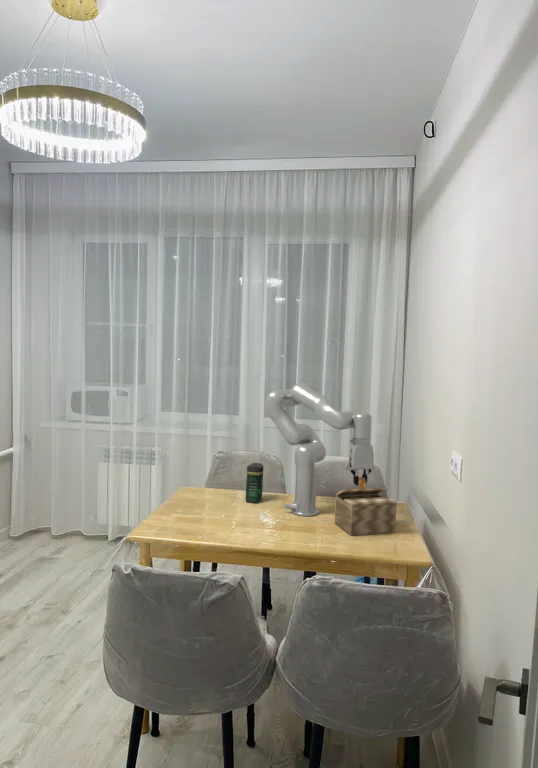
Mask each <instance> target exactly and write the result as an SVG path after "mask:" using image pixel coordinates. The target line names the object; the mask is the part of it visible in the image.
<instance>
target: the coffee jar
mask: <svg viewBox="0 0 538 768" xmlns="http://www.w3.org/2000/svg"><path fill="white" fill-rule="evenodd" d="M245 483H246V484H245V485H246V486H245V502H246V501H247V502H246V503H250V502H252V503H251V504H258V502H259V503H261V502H262V500H263V488H264V465H263V464H262V463H261V462H252V463H250V464H248V465H247V466H246V482H245Z"/></svg>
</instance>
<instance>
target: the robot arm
mask: <svg viewBox="0 0 538 768" xmlns="http://www.w3.org/2000/svg"><path fill="white" fill-rule="evenodd" d="M327 401H328V400H327V397H326V396H325V395H323V394H322V393H320V392H318V389H317V387H316V386H315V385H314V384H312V383H310V382H309V383H308V382H300V383H296V384H295V385H293V386H292V387H291V388H289V389H276V390H273V391H271V392H269V393H268V394H267V396H266V399H265V402H264V405H265V407H264V408H265V411H266V413H267V415H268V416H269V418H270V420H271V421H272V422H273V424H274V425H275V427H276V428H277V430H278V431H279V432H280V434H281V435H282V437H283V438H284V440H285V441H286V443H287V444H288V445H290V446H292V447H293V446H298V447H297V448H296V449H295V452H294V463H295V486H294V487H295V488H294V495H295V496H294V501H292V503H290V504H289V503H288V504H287V503H286V504H284V509H289V510H290V512H291V514H293V515H296V516H302V517H312V516H317V515H319V511H320V510H319V509H317V508H316V503H317V502H316V501H317V473H318V472H317V468H316V463H320V462H322V461H323V460H324V459H326V454H327V451H326V448H325V445H324V443H323V442H322V441H321V440H320V438H319V436H318V435H317V434H316V433H315V431H314V429H313V428H312V427H311V426H309V425H308V424H305V423H297V422H296V421H295V419H294V418H293V416H292V415H291V414H290V412H288V411H287V410H285V409H286V408H290V407H295V406H298V405H303V406H304V407H306V408H307V409H309V410H311V411H313V412H314V413H315V415H316V416H317V417H318V418H319V419H320V420H321V421H323V423H324V424H327V425H328V426H330V427H331V428H334V429H335V430H340V431H342V430H348V429H353V431H352V439H350V441H349V442H350V444H351V445H350V450H349V455H348V464H347V466H346V467H345V469H346V470H347V471H349V472H350V473H351V475H353V479H352V481H353V484H354V485H355V486H358V487H359V485H358V484H359V478H360V477H359V470H363V471H362V473H363V474H362V475H361V478H363V477H365V481H366V485H367V483H368V476H369V475H370V474H371V472H372V471H374V470H376V466H375V455H374V447H373V445H372V443H371V442H372V441H371V440H372V415H371V414H370V413H367V412H366V413H365V412H364V413H363V412H354V411H349V410H347V411H339V410H337V409H335V408H334V407H333V406H331V405H329V404H328V402H327Z"/></svg>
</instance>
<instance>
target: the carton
mask: <svg viewBox="0 0 538 768" xmlns="http://www.w3.org/2000/svg"><path fill="white" fill-rule="evenodd" d="M397 503H398V502H397V501H396V500H394V499H392V498H390V497H387V496H386V497H383V496H382V495H379V494H371V495H347V496H336V495H335V504H334V505H335V506H334V507H335V508H334V509H335V510H334V525H336V526H337V527H338V528H340V529H341V530H343V532H345V533H346V534H348V535H349V536H350V537H357V536H370V535H371V536H372V535H373V536H374V535H389V534H396V527H397V525H396V524H397V523H396V522H397V507H398V506H397Z"/></svg>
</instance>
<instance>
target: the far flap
mask: <svg viewBox="0 0 538 768" xmlns="http://www.w3.org/2000/svg"><path fill="white" fill-rule="evenodd" d="M386 490H387V489H386V487H377V488H367V484H366V481H365V477H363V478H362V477H359V484H358V488H351V489H350V488H349V489H348V488H347V489H341V490H339V491H338V492H337V493H336V494H335V497H336V496H352V495H376V494H378V495H379V494H381V493H382V492H384V491H386Z"/></svg>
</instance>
